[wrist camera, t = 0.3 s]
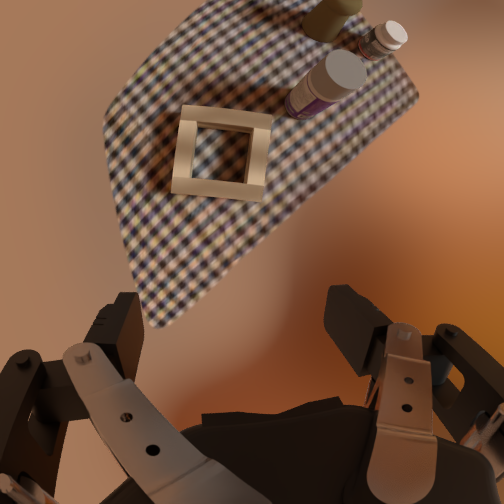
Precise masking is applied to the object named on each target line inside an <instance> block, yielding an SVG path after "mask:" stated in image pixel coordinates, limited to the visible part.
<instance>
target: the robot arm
mask: <svg viewBox="0 0 504 504" xmlns="http://www.w3.org/2000/svg"><path fill="white" fill-rule="evenodd" d="M324 327H325V329H326V331H327V333H328V334H329V335H330V337H331V338H332V339H333V341H334V342H335V344H336V345H337V347H338V348H339V349H340V351H341V352H342V354H343V355H344V356H345V358H346V359H347V361H348V362H349V364H350V365H351V366H352V368H353V369H354V371H355V372H356V374H357V375H358V377H361V376H365V375H369V374H371V376H372V377H371V379H370V382H369V386H368V390H367V394H366V398H365V402H364V406H363V407H361V406H355V405H343V403H342V402H341V400H340V398H339V397H338V396H337V397H332V398H328V399H323V400H318V401H313V402H308V403H305V404H303V405H300V406H298V407H295V408H293V409H290V410H287V411H285V412H282V413H279V414H257V413H245V412H228V413H212V414H211V413H210V414H202V424H199V425H195V426H192V427H189V428H187V429H185V430H182V431H181V432H178V431H177V430H176V429H175V428H174V427H173V426H172V424H171V423H169V421H168V420H167V419H166V418H165V417H164V416H163V415H162V414H161V413H160V412H159V411H158V410H157V409H156V408H155V407H154V405H153V404H152V403H151V402H150V401H149V400H148V399H147V398H146V396H145V395H144V394H143V393H142V392H141V391H140V389H139V388H138V387H137V386H136V385H135V384H134V382H135V377H136V372H137V367H138V362H139V358H140V354H141V349H142V345H143V341H144V325H143V319H142V313H141V306H140V299H139V295H138V293H137V292H120V293H119V294H118V296H117V298H116V300H115V302H114V304H107V305H106V306H105V307H103V308H102V309H101V310H100V311H99V313H98V315H97V316H96V319H95V320H94V322H93V325H92V326H91V328H90V330H89V331H88V333H87V335H86V337H85V339H84V341H83V343H79V344H75V345H73V346H71V347H70V348H68V349H67V350H66V351H65V353H64V354H63V359H62V360H56V361H49V362H43V361H42V359H41V356H40V354H39V353H38V352H36V351H34V350H22V351H19V352H17V353H15V354H14V355H13V356H11V357H10V358H9V360H8V361H7V363H6V365H5V366H4V368H3V370H2V372H1V373H0V504H59V503H58V502H57V501H56V500H55V499H54V494H55V487H56V480H57V473H58V468H59V463H60V458H61V453H62V448H63V444H64V439H65V435H66V431H67V427H68V422H69V421H73V420H81V419H88V418H89V419H90V421H91V422H92V424H93V426H94V428H95V429H96V431H97V433H98V434H99V436H100V437H101V439H102V441H103V442H104V444H105V445H106V447H107V448H108V450H109V451H110V453H111V454H112V456H113V457H114V459H115V460H116V462H117V463H118V465H119V466H120V467H121V469H122V470H123V472H124V473H125V475H126V476H127V477H128V478H127V479H126V480H125V481H124V482H123V483H122V484H121V485H120V486H119V487H118V488H117V489H115V490H114V491H113V492H112V493H111V494H110V495H109V496H108V497H107V498H105V499H104V500H103V501H102V502H101V503H100V504H501V501H500V498H499V495H498V491H497V486H496V483H497V482H499V481H500V480H501V479H502V478H503V477H504V367H503V366H502V365H500V364H499V363H498V362H497V361H496V360H495V359H494V358H493V357H492V356H491V355H490V354H489V353H487V352H486V351H485V350H484V349H483V348H482V347H481V346H480V345H479V344H477V343H476V342H475V341H474V340H473V339H472V338H471V337H469V336H468V335H467V334H466V333H465V332H464V331H462V330H461V329H460V328H458V327H457V326H454V325H451V324H440V325H438V326H437V328H436V330H435V333H434V335H421V333H420V331H419V330H418V329H417V328H415V327H414V326H412V325H410V324H406V323H393V322H392V321H391V320H390V319H389V318H388V317H387V316H386V315H385V314H383V313H382V312H381V311H379V309H378V308H377V307H376V306H374V304H373V303H372V302H370V301H369V300H368V299H367V298H365V297H363V296H361V295H359V294H357V293H356V292H355V291H354V290H353V289H352V288H351V287H350V286H349V285H347V284H345V285H332V286H330V288H329V290H328V295H327V301H326V307H325V313H324ZM453 365H454V366H455V367H456V368H457V369H458V370H459V371H460V372H461V373H462V374H463V376H464V379H465V383H464V387H463V389H462V390H461V392H460V391H459V390H458V389H457V388H456V387H455V386H454V384H453V383H452V382H451V381H450V380H449V379H448V378H447V376H448V375H449V372H450V370H451V368H452V366H453ZM432 409H433V411H434V412H435V413H436V415H437V416H438V417H439V419H440V420H441V422H442V423H443V424H444V426H445V427H446V429H447V430H448V431H449V433H450V434H451V435H452V437H453V438H454V440H455V441H456V443H454V442H451V441H448V440H446V439H443V438H440V437H438V436H435V435H433V433H432ZM31 411H32V413H31ZM30 413H31V416H30ZM29 416H30V418H29ZM28 419H29V421H28Z"/></svg>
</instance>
